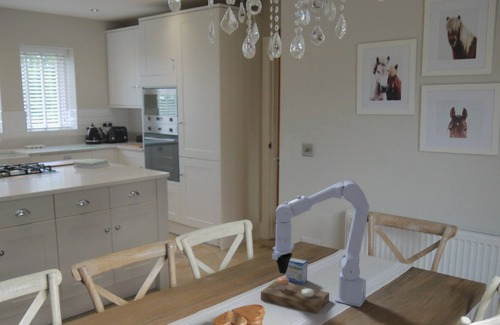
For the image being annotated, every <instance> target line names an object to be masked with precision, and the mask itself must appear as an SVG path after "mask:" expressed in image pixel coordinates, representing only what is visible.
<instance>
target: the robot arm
mask: <svg viewBox="0 0 500 325" xmlns="http://www.w3.org/2000/svg"><path fill="white" fill-rule="evenodd" d="M296 197H297V198H295V199H292V200H290V201H288V200H287V201H285V203H281V204H279V205H278V206H277V207H276V209H275V218H276V220H275V223H276V224H275V246H273V247H272V250H274V251H273V253H271V260H273V261H276V263H277V268H278V271H279V273H280V274H283V275H286V271H287V267H288V264H289V261H290V259H291V258H293V257H292V256H293V253H291V252H292V251H293V250H294V249H295V248H294V247H295V244H294V243H292V223H291V221H292V220H291V219H292V218H295V217H298V216H300V215H302V214H305V213H306V212H308V211H311V209H312V206H314V205H316V204H319V203H321V202H324V201H326V200H330V199H332V198H335V199H341V200H342V198H344V200H346V201H348V203H350V204H351V205H352V207H353V208H354V211H353V214H352V219H351V224H350V229H349V234H348V240H347V242H346V248H345V250H344V252H343V255H342V256H341V258H340V260H339V267H340V270H341V271H340V272H339V274H338V295H337V297H336V298H335V299H334V302H337V303H342V304H345V305H350V306H355V307H359V308H361V307H362V305H364V304H363V303H365V301H366V300H367V296H366V295H367V281H366V279H364V278H361V277H360V275H361V269H360V252H361V248H362V244H363V238H364V233H365V229H366V225H367V221H368V215H369V210H370V204H369V202H368V200H367V198H366V194H365V191H363V189H362V188H361V187H360V186H359V185H358V184H357V183H356V181H354V180H352V179H345V180H343V181H340V182H339V181H338V182H336V183H334V184H332V185H330V186H328V187H326V188H324V189H322V190H320V191H318V192H316V193H314V194H312V195H310V196H306V195H297V196H296Z"/></svg>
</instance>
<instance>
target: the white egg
mask: <svg viewBox="0 0 500 325" xmlns="http://www.w3.org/2000/svg"><path fill="white" fill-rule="evenodd" d="M312 289H313V288H311V289H303V290H302V296H303V297H306V298H311V297H313V296H314V291H313V290H312Z"/></svg>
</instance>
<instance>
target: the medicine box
mask: <svg viewBox="0 0 500 325" xmlns="http://www.w3.org/2000/svg"><path fill="white" fill-rule="evenodd" d="M308 262H309V261H308V260H306V259H299V258H295V257H291V259H290V261H289V264H288V267H287V271H286V273H285V277H287V278H288V279H289V282H291V283H296V284H302V285H304V283H306V282H307V281H308Z"/></svg>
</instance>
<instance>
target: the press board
mask: <svg viewBox="0 0 500 325" xmlns="http://www.w3.org/2000/svg"><path fill="white" fill-rule="evenodd" d="M303 289H312V290H313V291H314V296H313V297H311V298H306V297H303V296H302V290H303ZM260 300H262V301H265V302H269V303H273V304H277V305H281V306H285V307H287V308H288V307H289V308H293V309H296V310H297V309H298V310H302V311H306V312H309V313H313V314H318V313H319V312H320V311H321V310H322V309H323V308H324V307H325V306H326V305H327V303H329V301H330V292H328V291H325V290H320V289H315V288H311V287H310V288H309V287H305V286H302V285H296V284H292V283H289V284H288V285H286V290H284V291H282V290H279V284H277V280H274V281H273V282H272V283H270V284H269V285H268V286H267V287H265V288H264V289H263V290H261V291H260Z"/></svg>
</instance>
